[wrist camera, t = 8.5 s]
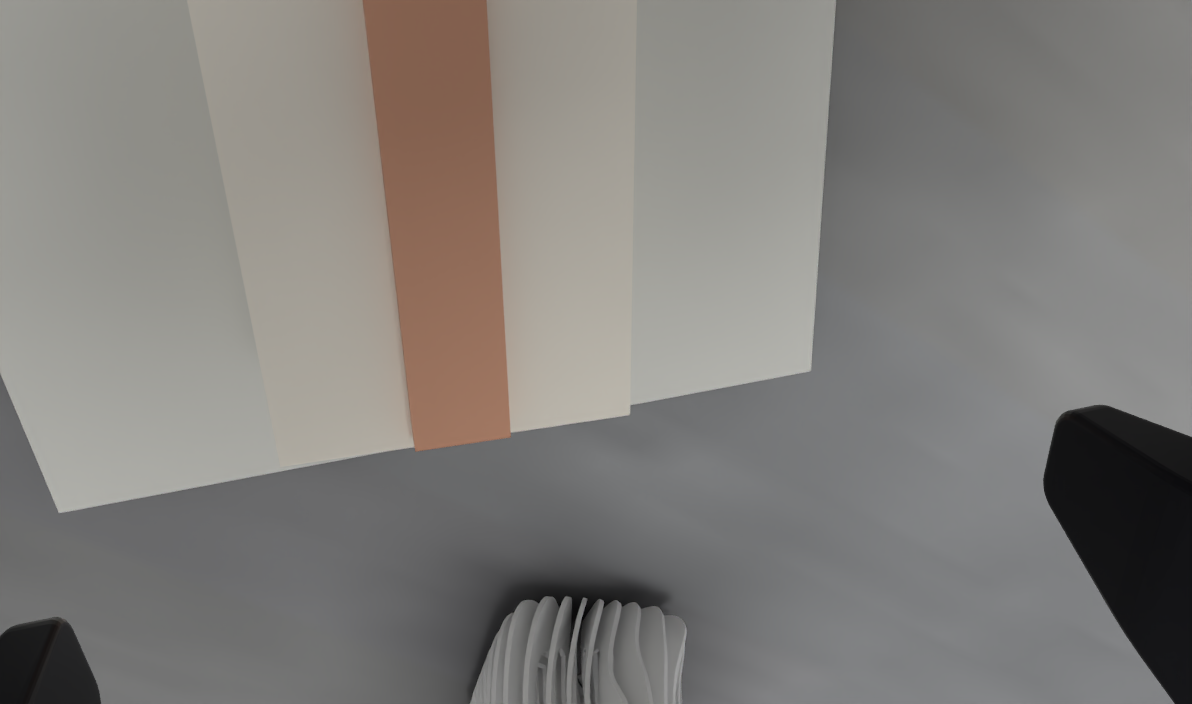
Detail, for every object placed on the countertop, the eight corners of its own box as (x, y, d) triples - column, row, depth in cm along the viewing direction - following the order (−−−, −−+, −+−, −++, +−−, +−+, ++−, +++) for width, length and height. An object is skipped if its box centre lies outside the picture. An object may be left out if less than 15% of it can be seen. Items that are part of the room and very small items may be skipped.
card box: (582, 316, 22) (636, 427, 19) (279, 355, 21) (280, 482, 17) (577, -171, 17) (647, -137, 14) (183, -159, 16) (159, -119, 13)
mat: (850, -380, 17) (862, -381, 17) (803, 362, 24) (810, 371, 24) (-278, -318, 14) (-291, -319, 14) (62, 500, 22) (58, 513, 21)
